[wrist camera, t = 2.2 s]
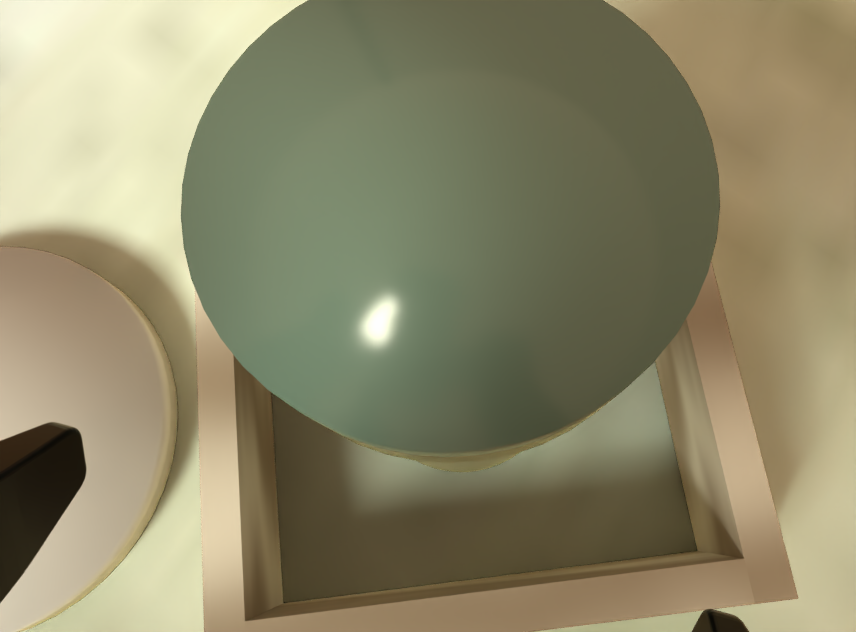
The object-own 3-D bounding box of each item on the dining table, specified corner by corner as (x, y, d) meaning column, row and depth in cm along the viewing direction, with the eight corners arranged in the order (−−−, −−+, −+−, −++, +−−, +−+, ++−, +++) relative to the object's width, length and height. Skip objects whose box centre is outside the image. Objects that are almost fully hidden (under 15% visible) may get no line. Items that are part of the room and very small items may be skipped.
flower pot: (593, 473, 20) (785, 408, 8) (360, 503, 20) (186, 487, 8) (552, 255, 22) (653, -73, 10) (340, 284, 22) (175, -2, 10)
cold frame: (741, 583, 19) (798, 598, 16) (251, 644, 20) (205, 672, 16) (637, 145, 23) (665, 82, 20) (231, 202, 24) (191, 150, 20)
